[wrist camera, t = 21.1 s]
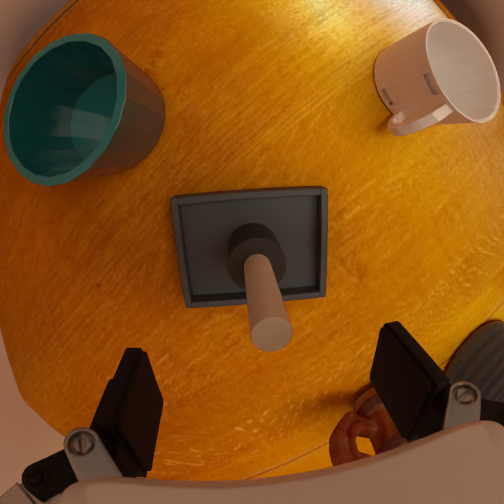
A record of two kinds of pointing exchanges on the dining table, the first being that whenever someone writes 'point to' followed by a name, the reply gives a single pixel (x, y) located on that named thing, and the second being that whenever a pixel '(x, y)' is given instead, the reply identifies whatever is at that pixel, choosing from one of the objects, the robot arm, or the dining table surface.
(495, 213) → the dining table surface
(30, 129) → the jar
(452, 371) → the vase
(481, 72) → the mug
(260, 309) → the brush
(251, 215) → the tray
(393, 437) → the mug
